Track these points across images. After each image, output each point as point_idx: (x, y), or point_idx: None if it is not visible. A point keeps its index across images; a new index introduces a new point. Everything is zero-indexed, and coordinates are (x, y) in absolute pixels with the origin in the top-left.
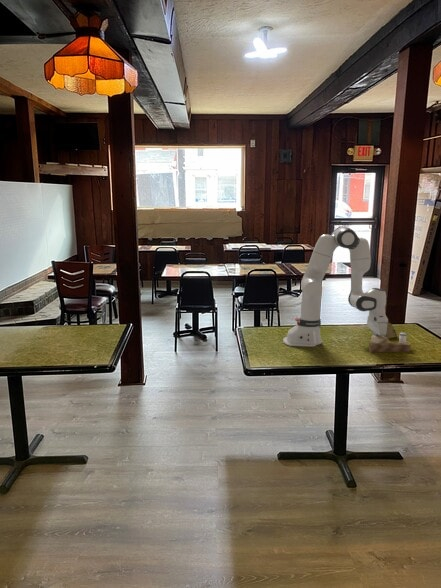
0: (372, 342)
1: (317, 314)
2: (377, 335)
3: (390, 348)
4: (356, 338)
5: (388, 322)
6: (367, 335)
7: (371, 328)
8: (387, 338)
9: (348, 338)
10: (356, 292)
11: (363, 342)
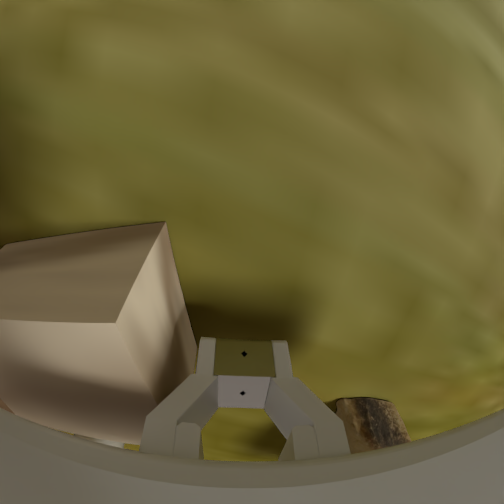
0: (112, 244)
1: None
2: (142, 412)
3: None
4: (472, 136)
5: None
6: (481, 316)
7: (361, 486)
8: (29, 419)
9: (487, 32)
10: None
11: (265, 129)
